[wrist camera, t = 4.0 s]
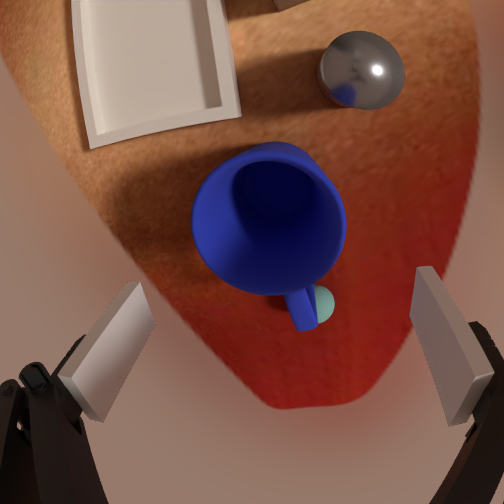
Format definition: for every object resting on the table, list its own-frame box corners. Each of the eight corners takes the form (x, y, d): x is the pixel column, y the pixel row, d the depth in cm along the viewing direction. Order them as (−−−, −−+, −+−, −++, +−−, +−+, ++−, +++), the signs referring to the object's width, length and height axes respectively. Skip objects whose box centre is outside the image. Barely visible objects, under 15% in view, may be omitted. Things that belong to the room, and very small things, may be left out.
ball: (294, 278, 29) (294, 300, 26) (332, 276, 28) (336, 298, 25) (297, 308, 30) (296, 332, 27) (332, 306, 30) (335, 330, 27)
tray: (83, -14, 18) (71, -17, 16) (214, -61, 15) (209, -71, 14) (102, 145, 25) (90, 149, 23) (242, 116, 23) (237, 117, 21)
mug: (263, 276, 29) (248, 353, 20) (211, 151, 25) (165, 184, 16) (350, 252, 27) (371, 326, 18) (309, 118, 22) (320, 129, 14)
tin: (311, 47, 20) (317, 31, 14) (375, 46, 19) (398, 32, 14) (319, 108, 22) (328, 110, 17) (382, 107, 21) (408, 110, 16)
